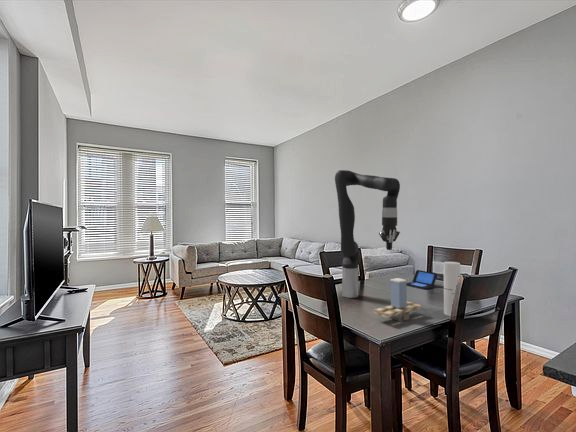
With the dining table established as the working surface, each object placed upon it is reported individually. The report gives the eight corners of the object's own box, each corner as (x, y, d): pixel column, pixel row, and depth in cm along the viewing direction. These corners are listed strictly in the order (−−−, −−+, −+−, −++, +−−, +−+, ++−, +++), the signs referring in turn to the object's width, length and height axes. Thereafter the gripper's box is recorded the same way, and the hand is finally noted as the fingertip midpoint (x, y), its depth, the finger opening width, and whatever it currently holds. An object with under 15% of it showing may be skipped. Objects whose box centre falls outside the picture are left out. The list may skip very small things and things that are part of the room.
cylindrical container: (445, 310, 153) (445, 261, 152) (461, 313, 148) (461, 262, 148) (442, 314, 147) (441, 263, 147) (459, 317, 143) (458, 264, 142)
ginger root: (386, 325, 134) (386, 314, 134) (373, 320, 141) (372, 309, 141) (421, 315, 146) (421, 305, 146) (407, 310, 153) (407, 300, 153)
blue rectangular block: (399, 312, 141) (399, 281, 141) (390, 309, 145) (390, 279, 145) (407, 310, 143) (406, 280, 143) (398, 307, 148) (397, 277, 148)
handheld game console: (404, 285, 206) (404, 271, 205) (416, 282, 213) (416, 269, 212) (425, 290, 192) (425, 275, 192) (437, 287, 199) (437, 273, 199)
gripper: (385, 216, 151) (385, 251, 151) (404, 216, 157) (404, 249, 157) (374, 216, 158) (374, 249, 158) (393, 216, 164) (393, 248, 164)
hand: (389, 249), depth 158 cm, fingers closed
